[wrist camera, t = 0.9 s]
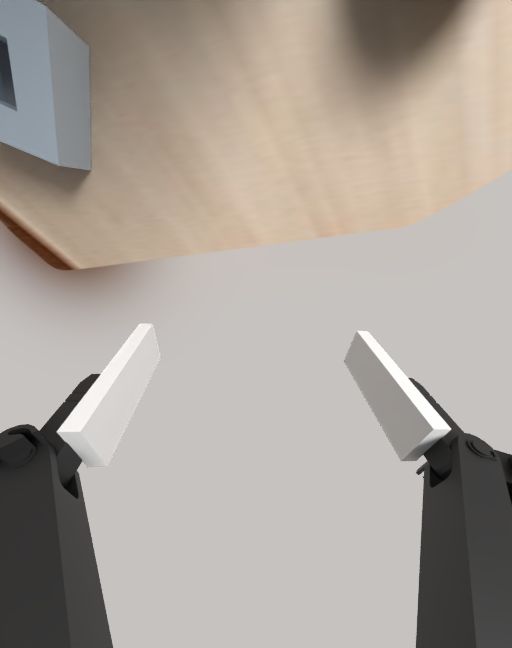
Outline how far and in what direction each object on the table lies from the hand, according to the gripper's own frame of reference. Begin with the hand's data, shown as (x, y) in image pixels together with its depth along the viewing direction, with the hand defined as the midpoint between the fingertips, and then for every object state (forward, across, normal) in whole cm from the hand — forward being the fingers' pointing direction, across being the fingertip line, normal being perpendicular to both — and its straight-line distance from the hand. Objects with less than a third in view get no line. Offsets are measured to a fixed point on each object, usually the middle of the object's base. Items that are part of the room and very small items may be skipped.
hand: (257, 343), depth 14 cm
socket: (+26, -27, +17) cm, 41 cm away
